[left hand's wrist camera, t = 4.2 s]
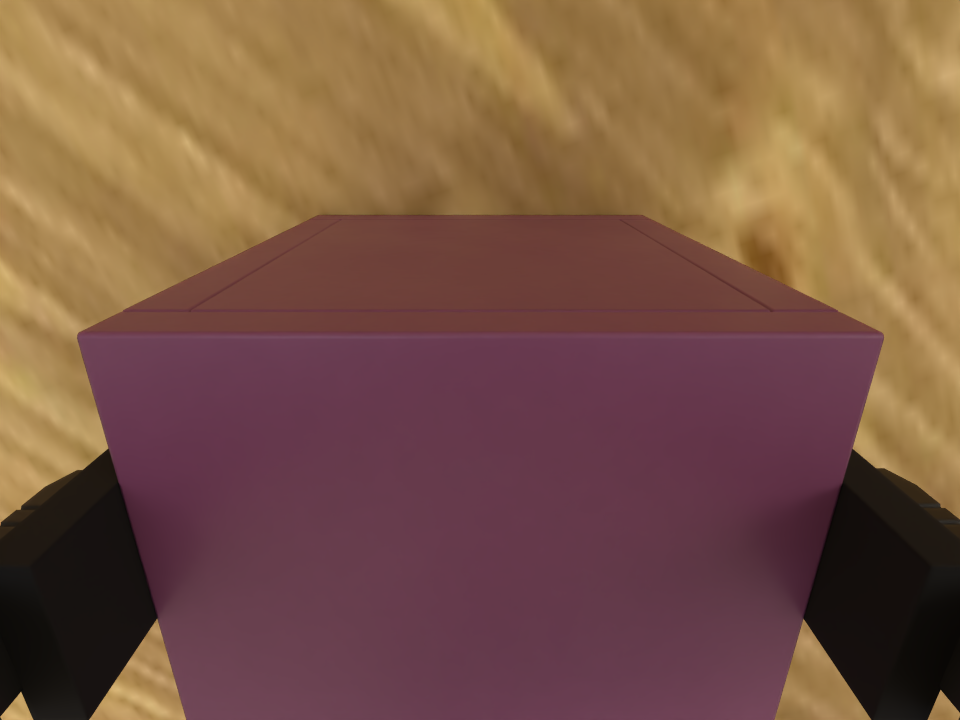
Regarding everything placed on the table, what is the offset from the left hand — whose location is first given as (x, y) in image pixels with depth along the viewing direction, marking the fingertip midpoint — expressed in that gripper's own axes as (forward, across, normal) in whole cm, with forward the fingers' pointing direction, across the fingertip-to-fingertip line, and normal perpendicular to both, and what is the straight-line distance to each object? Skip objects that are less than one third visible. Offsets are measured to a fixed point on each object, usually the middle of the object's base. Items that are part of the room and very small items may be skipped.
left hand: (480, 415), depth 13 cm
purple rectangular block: (+7, 0, -6) cm, 9 cm away
